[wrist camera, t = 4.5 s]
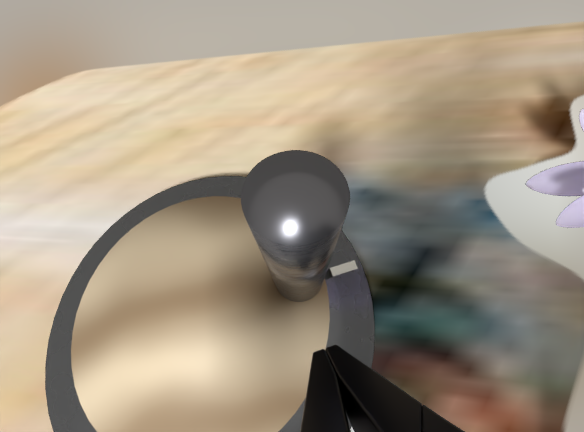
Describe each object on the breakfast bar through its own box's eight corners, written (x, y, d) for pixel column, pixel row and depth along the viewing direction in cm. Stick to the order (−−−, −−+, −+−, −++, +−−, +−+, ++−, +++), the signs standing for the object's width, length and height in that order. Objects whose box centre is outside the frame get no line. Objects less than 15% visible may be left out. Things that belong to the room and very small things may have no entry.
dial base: (432, 441, 15) (440, 446, 15) (43, 596, 13) (25, 614, 13) (311, 154, 24) (311, 146, 23) (63, 222, 22) (53, 216, 21)
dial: (365, 402, 15) (513, 538, 5) (90, 506, 14) (-619, 1047, 3) (287, 183, 22) (273, 25, 11) (91, 239, 20) (-150, 120, 9)
